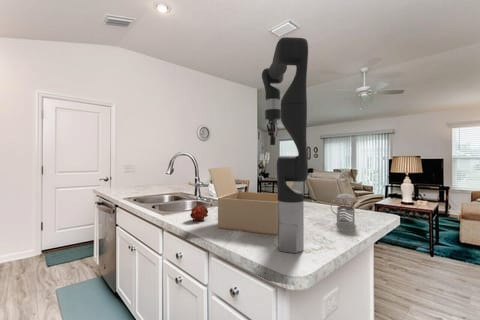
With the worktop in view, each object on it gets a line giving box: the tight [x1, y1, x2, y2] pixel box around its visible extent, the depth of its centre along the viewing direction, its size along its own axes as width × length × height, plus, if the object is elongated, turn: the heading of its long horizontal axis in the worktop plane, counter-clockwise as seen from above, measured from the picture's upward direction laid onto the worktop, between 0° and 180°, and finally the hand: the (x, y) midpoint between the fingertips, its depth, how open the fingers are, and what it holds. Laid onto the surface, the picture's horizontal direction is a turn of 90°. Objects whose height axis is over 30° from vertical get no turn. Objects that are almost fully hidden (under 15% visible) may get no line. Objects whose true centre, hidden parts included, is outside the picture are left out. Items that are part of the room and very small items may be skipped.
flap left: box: [207, 166, 239, 198], centre depth 124 cm, size 23×14×1 cm
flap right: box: [277, 181, 295, 201], centre depth 111 cm, size 23×14×1 cm
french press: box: [330, 173, 358, 229], centre depth 116 cm, size 10×12×25 cm
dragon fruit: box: [189, 204, 209, 222], centre depth 126 cm, size 8×8×12 cm
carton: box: [217, 191, 278, 236], centre depth 117 cm, size 24×28×14 cm
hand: (272, 145), depth 118 cm, fingers closed
